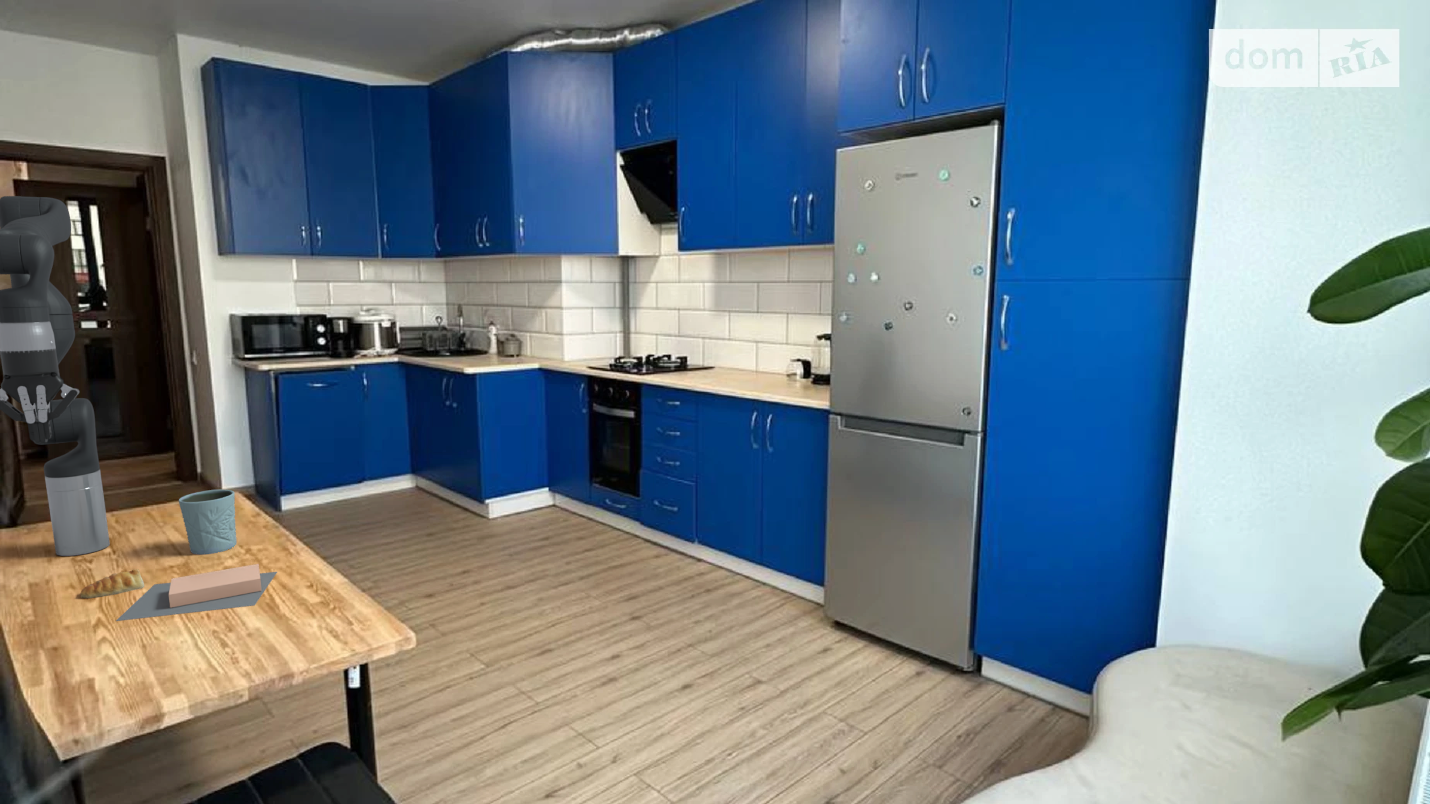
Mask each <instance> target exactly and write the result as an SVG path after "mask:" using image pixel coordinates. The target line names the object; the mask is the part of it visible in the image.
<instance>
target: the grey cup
mask: <svg viewBox="0 0 1430 804" xmlns="http://www.w3.org/2000/svg"><path fill="white" fill-rule="evenodd" d="M235 497H236V495H235V491H234V490H231V489H211V490H210V489H209V490H203V491H197V492H193V493H190V494H186V495H183V496H181V497H180V498H179V499H178V504H179V509H180V511H181V514H182V515H181V517H182V519H183V523H184V527H185V532H186V536H187V541H188V545H189V550H190V553H192V554H194V555H201V556H203V555H211V554H218V552H219V553H222V552H225V551H228V549H229V550H232V549H233V548H235V547H236V546H237V533H236V530H237V528H236V518H235V517H236V507H235V500H236V499H235ZM235 545H236V546H235ZM234 546H235V547H234ZM232 547H233V548H232Z"/></svg>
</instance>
